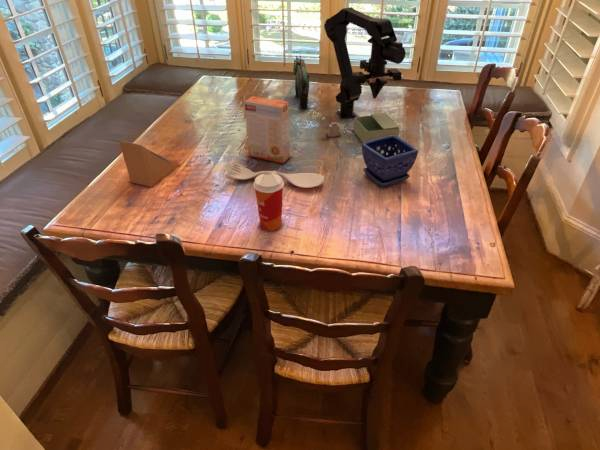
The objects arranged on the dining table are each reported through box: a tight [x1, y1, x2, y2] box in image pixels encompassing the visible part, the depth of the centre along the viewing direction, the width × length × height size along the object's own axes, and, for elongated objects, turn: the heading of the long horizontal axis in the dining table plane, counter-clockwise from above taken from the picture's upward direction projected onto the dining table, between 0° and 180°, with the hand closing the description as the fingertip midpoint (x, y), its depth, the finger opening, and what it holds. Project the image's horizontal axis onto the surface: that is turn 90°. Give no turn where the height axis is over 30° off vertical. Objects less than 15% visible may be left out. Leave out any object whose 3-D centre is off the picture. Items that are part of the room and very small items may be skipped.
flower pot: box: [361, 135, 419, 188], centre depth 142 cm, size 13×13×12 cm
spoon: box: [224, 162, 325, 189], centre depth 143 cm, size 9×32×4 cm, turn 79°
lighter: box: [321, 116, 341, 138], centre depth 168 cm, size 7×2×8 cm, turn 103°
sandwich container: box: [119, 140, 178, 188], centre depth 144 cm, size 9×15×15 cm, turn 158°
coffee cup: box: [253, 173, 285, 232], centre depth 121 cm, size 8×8×15 cm
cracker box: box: [244, 95, 291, 164], centre depth 151 cm, size 14×6×21 cm, turn 65°
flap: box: [369, 112, 400, 129], centre depth 167 cm, size 14×6×1 cm, turn 14°
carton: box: [353, 115, 400, 143], centre depth 168 cm, size 14×13×6 cm
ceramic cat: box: [292, 55, 310, 111], centre depth 193 cm, size 20×6×20 cm, turn 6°
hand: (374, 98), depth 170 cm, fingers closed
